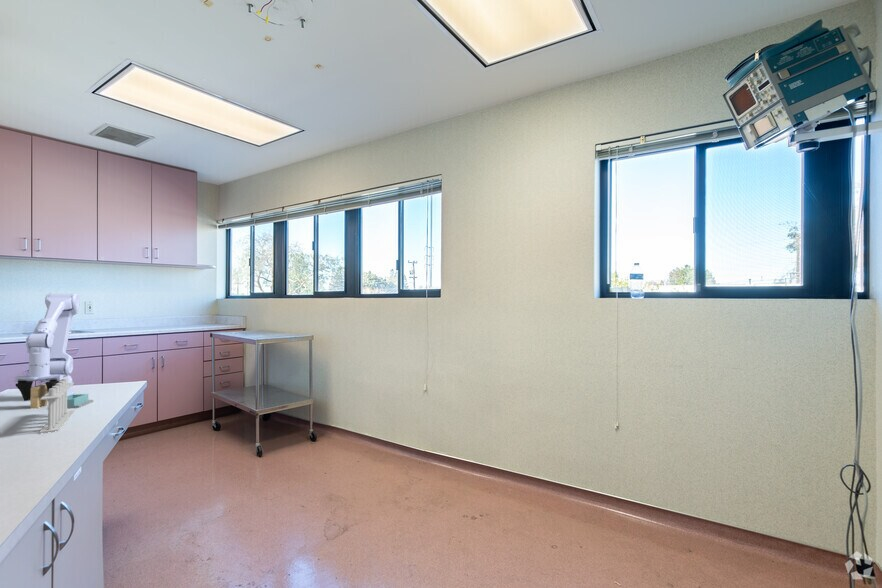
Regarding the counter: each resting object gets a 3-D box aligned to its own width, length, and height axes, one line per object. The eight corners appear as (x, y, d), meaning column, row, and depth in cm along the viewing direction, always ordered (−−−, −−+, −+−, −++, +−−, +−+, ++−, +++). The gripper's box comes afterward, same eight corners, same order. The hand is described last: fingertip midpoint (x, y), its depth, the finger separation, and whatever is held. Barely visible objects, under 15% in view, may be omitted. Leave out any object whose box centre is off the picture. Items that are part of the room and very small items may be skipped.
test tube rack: (58, 431, 128) (59, 390, 128) (39, 434, 126) (39, 391, 126) (74, 412, 149) (74, 376, 149) (57, 414, 146) (58, 377, 146)
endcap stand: (66, 402, 161) (66, 394, 161) (93, 401, 163) (93, 393, 163) (50, 409, 152) (50, 400, 152) (78, 407, 154) (78, 399, 154)
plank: (40, 405, 157) (40, 384, 157) (47, 404, 158) (47, 384, 158) (30, 408, 153) (30, 387, 153) (37, 408, 153) (37, 387, 153)
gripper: (8, 366, 150) (7, 403, 150) (54, 365, 153) (54, 401, 153) (22, 363, 157) (22, 398, 157) (67, 362, 160) (66, 397, 160)
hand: (39, 399), depth 155 cm, fingers open, 7 cm apart
